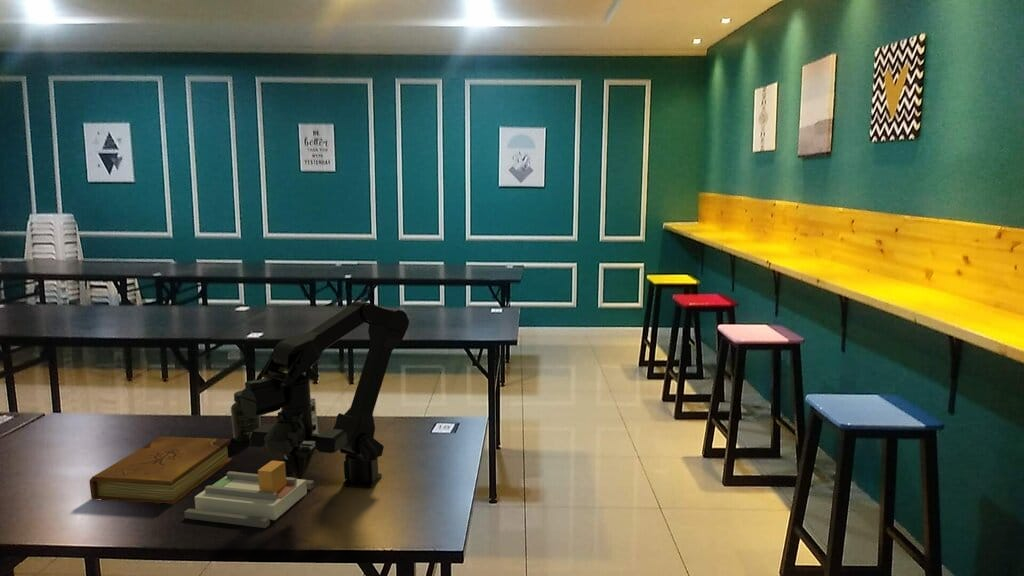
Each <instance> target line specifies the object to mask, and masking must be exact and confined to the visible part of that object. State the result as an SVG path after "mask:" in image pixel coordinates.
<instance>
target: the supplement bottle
mask: <svg viewBox="0 0 1024 576" xmlns="http://www.w3.org/2000/svg"><path fill="white" fill-rule="evenodd" d="M243 390H244V389H242V390H239V391H235V392H234V393H233V404H232V405H231V406H230V412H231V414H230V415H231V425H232V427H231V428H232V434H233V435H232V436H233V439H234V440H235V441H236V442H244V443H245V442H250V435H251V433H252V431H254V430H256V429H257V428H259V427H260V426H262V424H261V423H262V422H261V416H258V417H255V418H248V417H247V416H246V415H245V414H244V412H243V410H242V408H241V405H240V397H241V393H242V391H243Z"/></svg>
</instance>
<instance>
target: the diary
mask: <svg viewBox="0 0 1024 576" xmlns="http://www.w3.org/2000/svg"><path fill="white" fill-rule="evenodd" d="M231 442H232V440H231V438H211V437H210V438H209V437H206V438H205V437H182V436H162V435H161V436H159V437H158V438H156V439H154V440H152V441H150V442H149V443H147V444H146V445H144V446H142V447H141V448H139V449H137V450H136V451H134V452H132V453H130V454H129V455H127V456H125V457H124V458H122V459H120V460H118V461H117V462H115V463H114V464H112V465H110V466H108V467H107V468H105V469H103V470H101V471H100V472H98V473H96V474H95V475H93V476H92V477H91V478H90V479H89V488H90V497H91V499H92V500H93V499H101V500H100V501H106V500H118V501H117V502H124V501H132V502H131V503H142V502H154V503H153V504H160V503H167V504H166V505H175V504H176V503H177V502H179V501H180V500H182V499H183V498H184V497H185V496H187V495H188V494H190V493H191V492H192V491H193V490H194V488H195V487H196V488H198V486H200V485H201V484H202V483H204V482H205V481H206V480H208V479H209V478H210V477H212V476H213V475H215V473H218V471H220V470H221V469H222V468H224V466H226V465H227V464H229V463H230V462H232V460H233V457H229V452H228V446H229V445H230V444H231ZM199 484H200V485H199ZM196 488H195V489H196ZM192 489H193V490H192ZM191 490H192V491H191ZM190 491H191V492H190ZM187 493H188V494H187ZM186 494H187V495H186ZM134 501H135V502H134Z"/></svg>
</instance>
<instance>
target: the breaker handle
mask: <svg viewBox="0 0 1024 576" xmlns="http://www.w3.org/2000/svg"><path fill="white" fill-rule="evenodd" d="M286 473H287V471H286V461H283V460H282V461H280V460H271V461H269V462H268V463H266V464H265V465H263V466H262V467H260V469H259V468H258V470H257V474H258V477H259V491H266V492H275V493H276V492H278V491H279V490H280V489H282V488H283V487H284V486H285V485H287V483H286V477H287V474H286Z"/></svg>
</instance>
